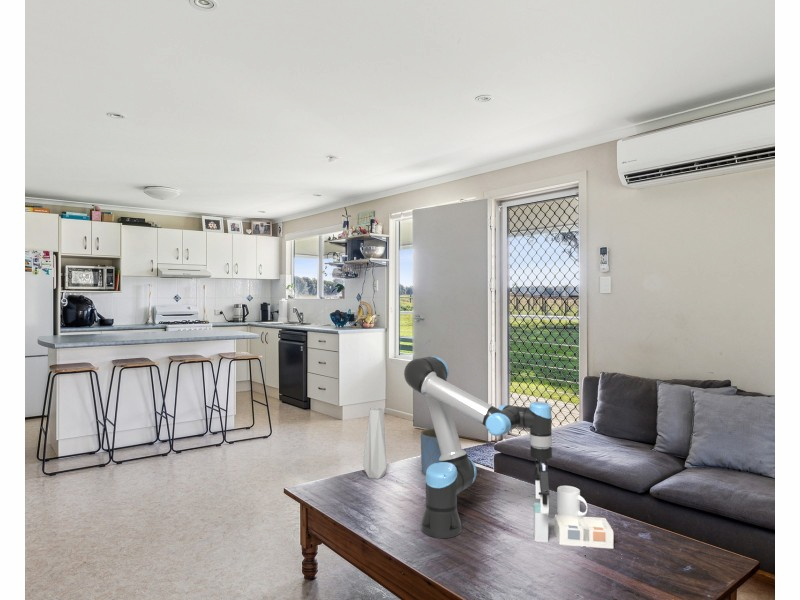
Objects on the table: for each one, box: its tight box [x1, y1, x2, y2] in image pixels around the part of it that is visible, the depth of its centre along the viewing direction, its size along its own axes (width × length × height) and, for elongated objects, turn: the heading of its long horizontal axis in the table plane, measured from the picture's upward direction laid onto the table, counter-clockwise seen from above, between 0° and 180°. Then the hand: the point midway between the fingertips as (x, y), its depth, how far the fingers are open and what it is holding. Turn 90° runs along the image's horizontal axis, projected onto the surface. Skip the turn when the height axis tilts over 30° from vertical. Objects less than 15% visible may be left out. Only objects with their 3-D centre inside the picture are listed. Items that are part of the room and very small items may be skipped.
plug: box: [533, 502, 549, 543], centre depth 180 cm, size 5×5×12 cm
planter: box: [420, 427, 460, 477], centre depth 252 cm, size 19×19×20 cm
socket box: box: [554, 514, 614, 550], centre depth 180 cm, size 18×11×6 cm, turn 82°
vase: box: [362, 407, 388, 480], centre depth 245 cm, size 12×12×33 cm
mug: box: [556, 485, 588, 517], centre depth 199 cm, size 9×12×11 cm
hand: (541, 505), depth 180 cm, fingers open, 13 cm apart
